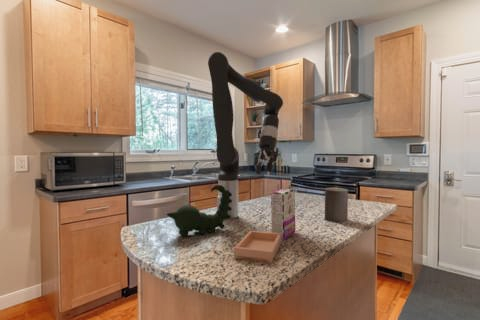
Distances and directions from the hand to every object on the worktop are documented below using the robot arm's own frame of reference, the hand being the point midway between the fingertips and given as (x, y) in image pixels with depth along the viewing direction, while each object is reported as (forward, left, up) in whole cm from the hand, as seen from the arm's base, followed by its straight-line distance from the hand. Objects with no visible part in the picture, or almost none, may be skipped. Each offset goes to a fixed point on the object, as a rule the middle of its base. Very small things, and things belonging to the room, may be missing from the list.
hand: (263, 172), depth 113 cm
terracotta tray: (+6, -31, -21) cm, 38 cm away
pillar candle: (+30, +14, -22) cm, 39 cm away
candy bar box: (+11, -15, -22) cm, 29 cm away
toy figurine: (-19, -21, -22) cm, 36 cm away
